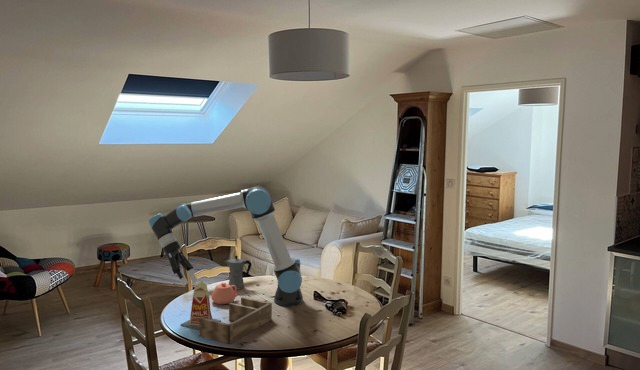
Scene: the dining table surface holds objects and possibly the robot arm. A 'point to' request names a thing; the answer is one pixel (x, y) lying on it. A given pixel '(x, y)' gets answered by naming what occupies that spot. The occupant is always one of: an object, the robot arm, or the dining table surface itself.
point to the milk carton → (200, 304)
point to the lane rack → (237, 321)
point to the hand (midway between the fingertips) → (190, 283)
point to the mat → (187, 324)
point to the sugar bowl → (224, 294)
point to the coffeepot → (237, 271)
